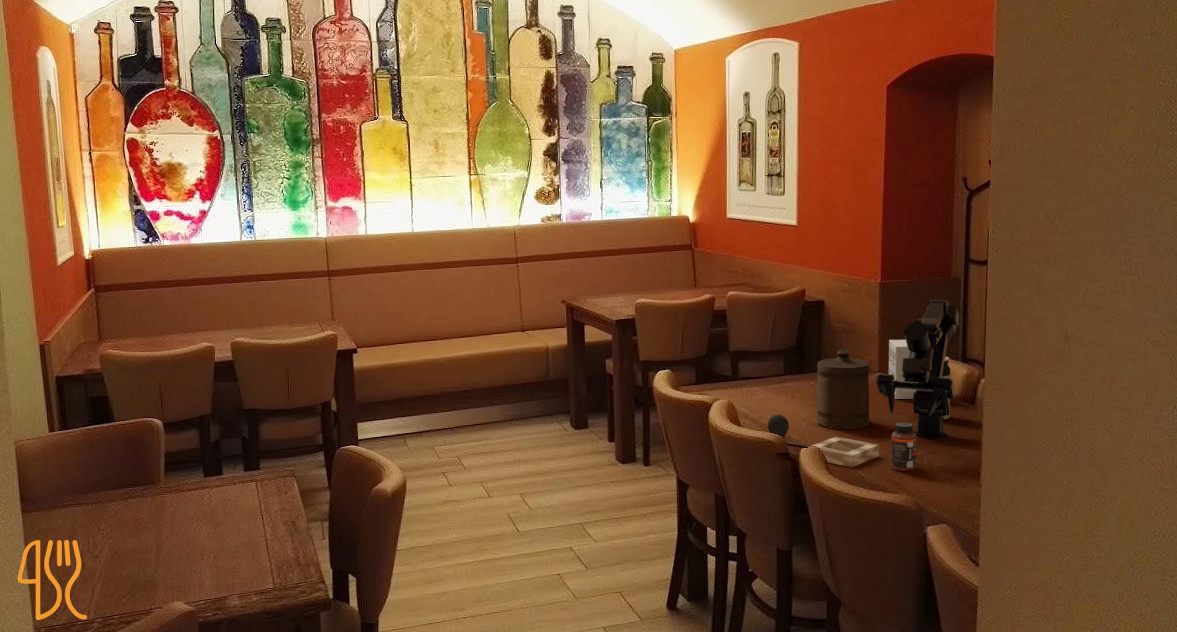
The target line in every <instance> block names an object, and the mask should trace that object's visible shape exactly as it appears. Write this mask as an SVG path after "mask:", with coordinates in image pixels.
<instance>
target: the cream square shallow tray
mask: <svg viewBox="0 0 1177 632" xmlns="http://www.w3.org/2000/svg"><path fill="white" fill-rule="evenodd" d="M811 446H816V447H818V448H820V450H821V451H822V453H823V454H824V455H825V457H826V459H827V462H826V463H829V464H834V465H838V466H843V467H847V468H854V467H857V466H859V465H861V464H864V463H866V462H868V461H869V462H870V461H871V460H874V459H875V458H877V457H880V444H876V443H872V442H866V441H862V440H861V441H860V440H855V439H851V438H850V439H849V438H844V437H839V436H834V437H831V438H828V439H826V440H823V441H820V442H818V443H815V444H812V445H811ZM811 446H809V447H811Z"/></svg>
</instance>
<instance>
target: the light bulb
mask: <svg viewBox="0 0 1177 632" xmlns="http://www.w3.org/2000/svg"><path fill="white" fill-rule="evenodd" d="M789 428H790V424H789V421H788V419H787V418H786V417H785V416H784V415H782V414H774V415H772V416H771V417H770V418H769V419H768V421H767V429H768V432H769V434H770V433H774V434H778V435H780V436H782V437H783V438H784V439H785V437H786V435H787V433H788V431H789Z"/></svg>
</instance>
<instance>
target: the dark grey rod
mask: <svg viewBox="0 0 1177 632" xmlns="http://www.w3.org/2000/svg"><path fill="white" fill-rule="evenodd" d="M787 442H788V444H795V445H800V446H801V445H802V446H803V447H802V448H804V447H806V446H812V445H811V444H810V445H809V444H805V443H804V444H803V443H797V442H791V441H787Z"/></svg>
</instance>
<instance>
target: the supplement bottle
mask: <svg viewBox="0 0 1177 632" xmlns="http://www.w3.org/2000/svg"><path fill="white" fill-rule="evenodd" d="M913 429H914V428H913V424H912V423H910V422H897V423H895V431H893V432H892V434H891V450H890V451H891V452H890V453H891V459H890V461H891V463H890V464H891V468H892V469H894V470H896V471H899V472H911V471H914V470H916V469H917V447H918V445H917V439H918V437H917V436H918V435H916V434H915V433H914V432H915V431H913Z"/></svg>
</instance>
